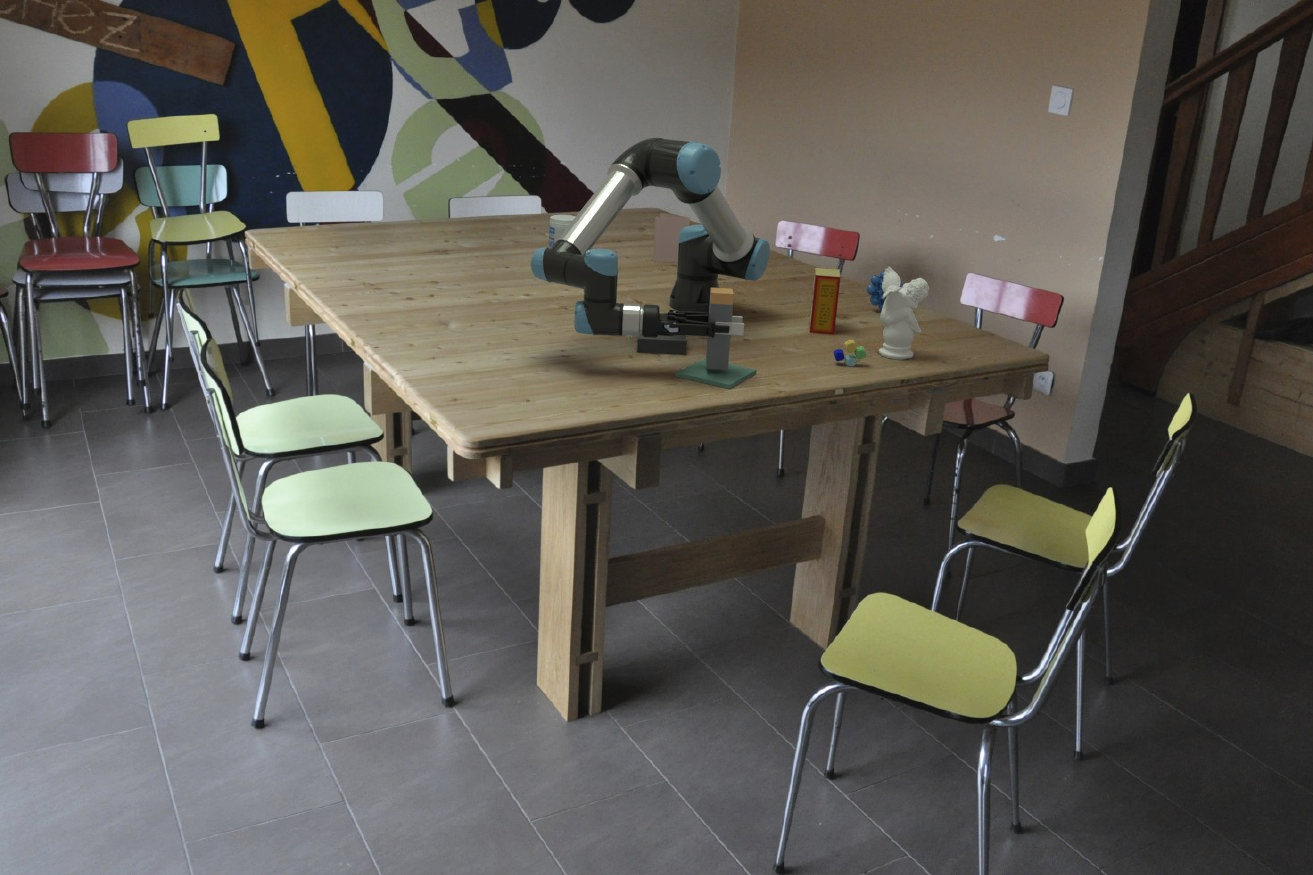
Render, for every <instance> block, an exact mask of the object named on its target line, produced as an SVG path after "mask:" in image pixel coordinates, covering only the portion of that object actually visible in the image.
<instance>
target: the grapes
mask: <svg viewBox="0 0 1313 875" xmlns="http://www.w3.org/2000/svg"><path fill="white" fill-rule="evenodd" d="M885 271H886V270H883V271H881V272H880V274H879V275H876V274H875V275H873V276H871V278H870V282H871V284H870V285H869V284H868V286H867V288H866V292H867V294H869V296H870V298H869V302H870V304H871V305H872V306H875V307H876V306H878V308H879V311H880V312H881V311H882V308H883V305H884V301H885V299H886V298H887V297H885V298H884V299H882V297H883V295H884V292H883V290H882V282H884V281H883V279H884V277H883V276H884V272H885ZM904 284H905V283H902V282H901V283H900V287H902V286H903V285H904Z"/></svg>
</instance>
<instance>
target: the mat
mask: <svg viewBox="0 0 1313 875" xmlns="http://www.w3.org/2000/svg"><path fill="white" fill-rule="evenodd" d="M756 374H757V369H755V368H751V367H746V366H741V365H737V364H732V363H729V362H728V370H717V369H706V357H704V358H702V359H700V360H699V361H696V362H694V363H692V364H690V365H688V366H686V367H683V368H682V369H680V370H678V371H676V372H675V377H676V378H680V379H684V380H689V381H694V382H696V383H697V382H698V383H702V384H706V385H711V386H714V387H715V386H716V387H719V388H723V389H724V388H725V389H728V390H731V389H732V388H734V387H735V386H737V385H739V384H741V383H743V382H744V381H746V380H748V379H750V378H752V377H753V376H755V375H756Z"/></svg>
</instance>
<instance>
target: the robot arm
mask: <svg viewBox="0 0 1313 875" xmlns="http://www.w3.org/2000/svg"><path fill="white" fill-rule="evenodd" d="M720 165H721V160H720V157H719V155H718V153H717V151H716V150H715V149H714V147H712V146H710V145H708V144H705V143H701V142H699V141H684V140H677V139H676V140H675V139H668V138H661V137H651V138H650V137H649V138H647V139H643V140H640V141H638V142H636V143H635V144H632V145H631V146H630V147H628V148H627V149H626V150H625V151H623V152H622V153H621V154H620V155H619V156H618V157H617V158H616V159H615V160H614V161H613V162H612V163H611V165H610V166H609V167H608V169H607V177H606V178H605V179H604V180H603V181H602V183H601V184H600V185H599V187H597V189H596V190H595V192H594V193H593V194H592V195H591V197H590V198H588V200H587V202H586V203H585V205H584V206H583V207H582V209H581V210H580V211H579V212H578V213H577V214H576V215H575V216H576V217H575V218H574V220H573V221H572V222H571V223H570V225H569V226H568V227H567V229H566V230H565V231H564V232H563V234H562V235H561V236H560V237H559V239H558V240H557V241H556V243H555V244H554V245H553V246H552V248H549V246H548V247H540V248H538V249H536V250H535V251H534V252H533V254H532V257H531V260H530V269H531V272H532V274H533V276H534V277H535V278H537V279H539V280H542V281H544V282H548V283H551V284H552V283H553V284H558V285H564V286H568V287H571V288H572V287H573V288H577V289H581V290H582V289H583V300H578V301H577V302H575V305H574V306H575V307H574V320H573V321H574V322H573V323H574V324H573V325H574V330H575V332H576V333H578V334H584V335H585V334H586V335H591V336H616V337H618V336H619V337H626V338H627V339H628V340H629V339H631V338H632V337H637V338H638V337H639V336H640V334H642V336H644V337H649V338H657V337H658V330H663V331H667V332H668V333H669V335H686V336H688V337H689V336H692V337H706V338H707V337H711V338H714V336H715V334H724V335H730V336H731V335H732V336H744V330H745V323H744V322H743V321H744V320H743V318H744V317H743V316H742V315H740V316H738V315H732V322H715V323H709V322H708V320H709V305H710V291H711V288H720V284H719V275H720V276H726V277H731V278H736V279H741V280H745V281H754V282H755V281H758V280H759V279H760V278H762V276H763V275H764V274H765V272H766V270H767V267H768V264H769V260H770V255H771V246H770V243H769V240H767V239H764V238H763V237H760V238H759V237H756V236H755V235H754V233H753V231H752V229H751V228H749V226H746V225H745V224H741V223H740V221H739V219H738V217H737V216H736V214H735V212H734V211H733V208H732V207H731V206H730V204H729V202H728V201H727V199H726V197H725V196H724V194H723V192H722V191H721V189H720V188H719V186H718V184H719V183H720V179H721V176H722V168H721V166H720ZM647 187H656V188H662V189H663V188H664V189H669V190H671V191H672V192H673V194H674V195H675V197H676V199H677V200H678V201H680V202H681V203H683V204H685V205H688V206H689V207H690V208H691V210H692V212H693V214H694V215H695V216H696V217H697V220H698V221H699V222H700V224H692V225H690V226H686V227H684V228H682V229H681V231H680V235H679V242H678V244H679V246H678V262H677V270H676V271H677V272H676V280H675V282H674V285H673V288H672V290H671V293H670V295H669V302H668V304H669V307H671V308H672V309H669V310H668V312H666V313H665V312H664V313H660V306H659V305H658V304H645V305H643V306H642V305H641V304H640V303H625V302H624V303H619V302H617V296H618V277H619V276H618V275H619V266H618V265H619V264H618V260H619V259H618V254H617V253H616V252H615V251H614V250H612V249H607V248H593V247H594V246H595V244H597V242H598V241H599V240H600V239H601V237H602V236H603V234H605V232H606V230H607V229H608V227H610V225H612V224H611V223H612V222H613V221H614V220H615V219H616V217H618V215H619V214H620V212H621V211H622V210H623V208H624V207H625V206H626V204H628V202H629V201H630V199H631V198H632V197H635V196H638V195H639V194H640V193H641V191H643V189H644V188H645V189H646V188H647Z"/></svg>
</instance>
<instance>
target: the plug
mask: <svg viewBox="0 0 1313 875" xmlns="http://www.w3.org/2000/svg"><path fill="white" fill-rule="evenodd" d="M733 303H734V289H733V288H724V287H719V288H711V291H710V305H709V320H708V322H709V323H715V322H732V316H733V310H734V309H733V307H734V304H733ZM706 338H707V339H706V340H707V341H706V352H705V358H706V369H717V370H728V363H729V360H730V346H731V345H730V344H731V335H724V334H715V336H714V338H711V337H707V336H706Z"/></svg>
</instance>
